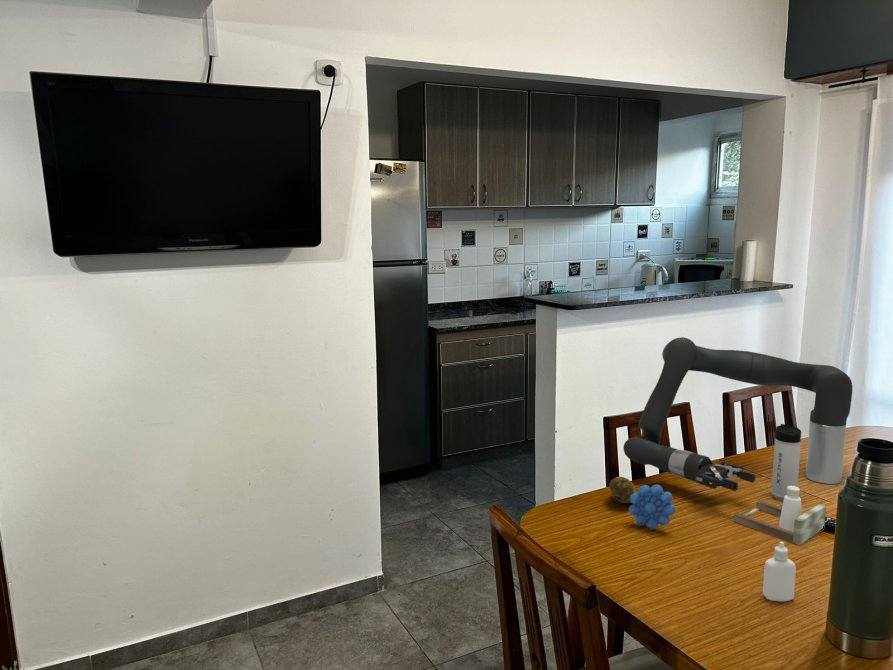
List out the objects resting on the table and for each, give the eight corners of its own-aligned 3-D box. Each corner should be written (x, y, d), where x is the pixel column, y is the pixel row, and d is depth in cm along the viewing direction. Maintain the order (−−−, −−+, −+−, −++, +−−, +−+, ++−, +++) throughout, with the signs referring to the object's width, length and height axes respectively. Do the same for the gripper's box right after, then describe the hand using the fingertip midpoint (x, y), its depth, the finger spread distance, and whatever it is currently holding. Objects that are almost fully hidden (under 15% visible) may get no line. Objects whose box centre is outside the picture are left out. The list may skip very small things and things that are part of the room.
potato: (647, 498, 186) (648, 470, 184) (628, 514, 176) (628, 485, 175) (619, 491, 191) (620, 464, 190) (599, 506, 181) (599, 478, 180)
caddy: (758, 507, 178) (760, 486, 177) (824, 528, 166) (825, 506, 165) (732, 521, 171) (734, 499, 170) (799, 545, 158) (801, 521, 157)
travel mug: (790, 492, 188) (795, 423, 184) (800, 502, 181) (805, 431, 178) (767, 492, 188) (771, 423, 185) (776, 501, 182) (781, 431, 178)
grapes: (679, 528, 167) (681, 483, 165) (670, 539, 162) (672, 492, 160) (634, 517, 174) (636, 473, 172) (624, 526, 169) (626, 481, 167)
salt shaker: (807, 533, 163) (811, 491, 161) (786, 535, 163) (789, 492, 161) (794, 524, 169) (797, 482, 167) (773, 525, 168) (776, 483, 166)
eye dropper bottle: (763, 588, 140) (767, 534, 138) (794, 595, 137) (798, 540, 135) (761, 598, 136) (765, 543, 134) (792, 606, 133) (797, 550, 131)
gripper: (675, 458, 181) (732, 475, 169) (704, 447, 190) (760, 462, 177) (674, 485, 183) (730, 503, 170) (703, 472, 191) (759, 489, 179)
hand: (746, 482), depth 174 cm, fingers open, 8 cm apart
